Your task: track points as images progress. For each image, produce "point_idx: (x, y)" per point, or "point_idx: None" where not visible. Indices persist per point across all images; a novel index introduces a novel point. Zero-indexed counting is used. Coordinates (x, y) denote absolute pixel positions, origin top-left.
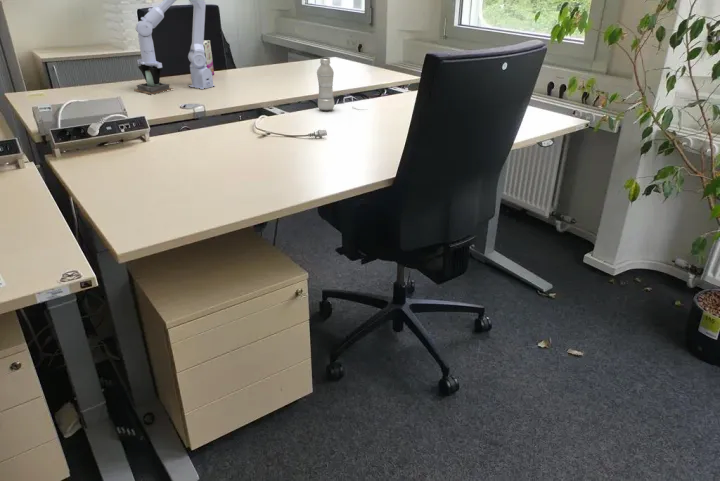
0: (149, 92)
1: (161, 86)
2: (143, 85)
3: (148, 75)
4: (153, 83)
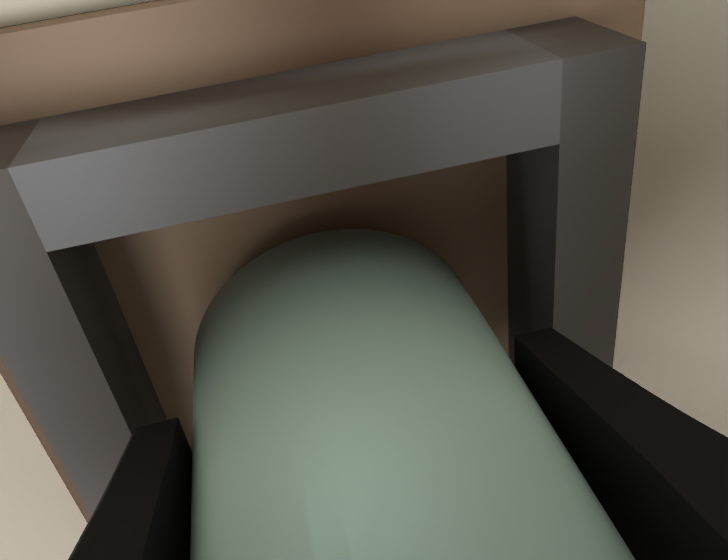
0: (28, 104)
1: (77, 477)
2: (442, 167)
3: (303, 556)
4: (203, 408)
